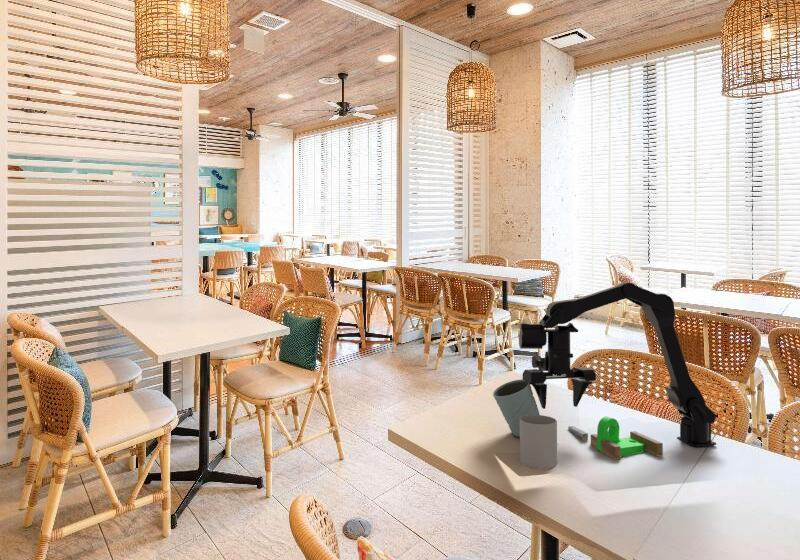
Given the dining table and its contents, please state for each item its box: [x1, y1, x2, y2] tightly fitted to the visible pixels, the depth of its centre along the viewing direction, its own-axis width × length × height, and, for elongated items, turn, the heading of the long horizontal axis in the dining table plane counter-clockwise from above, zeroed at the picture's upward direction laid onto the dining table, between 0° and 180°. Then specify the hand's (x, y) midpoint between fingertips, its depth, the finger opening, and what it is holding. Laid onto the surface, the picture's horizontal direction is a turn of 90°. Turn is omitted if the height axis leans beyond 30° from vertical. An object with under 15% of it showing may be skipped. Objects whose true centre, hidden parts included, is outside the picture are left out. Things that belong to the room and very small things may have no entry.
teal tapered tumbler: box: [492, 378, 541, 438], centre depth 132 cm, size 10×10×12 cm
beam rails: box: [590, 430, 664, 461], centre depth 124 cm, size 13×10×3 cm
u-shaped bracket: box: [567, 425, 589, 442], centre depth 132 cm, size 12×8×3 cm, turn 102°
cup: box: [519, 414, 558, 470], centre depth 116 cm, size 8×8×10 cm
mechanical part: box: [595, 416, 645, 457], centre depth 124 cm, size 12×6×8 cm, turn 117°
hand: (559, 407), depth 132 cm, fingers open, 9 cm apart
